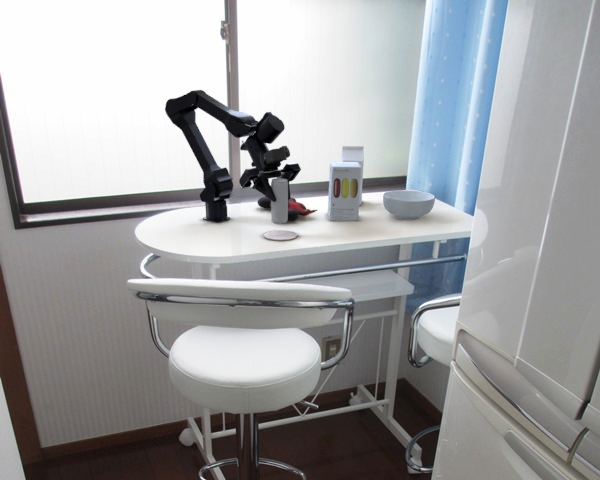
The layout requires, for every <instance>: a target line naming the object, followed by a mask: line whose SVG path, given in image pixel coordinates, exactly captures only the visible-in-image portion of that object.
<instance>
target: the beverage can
mask: <svg viewBox="0 0 600 480" xmlns="http://www.w3.org/2000/svg"><path fill="white" fill-rule="evenodd" d="M287 181H288V180H287V179H283V178H277V177H276V178H271V182H270V186H271V188H272V190H273V192H274V195H275V197H276V202H273V201H272V200H271V209H270V217H271V218H270V220H271V222H272V223H273V224H279V225H281V224H285V223H288V222H287V220H288V182H287Z"/></svg>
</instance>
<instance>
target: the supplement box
mask: <svg viewBox="0 0 600 480" xmlns="http://www.w3.org/2000/svg"><path fill="white" fill-rule="evenodd" d="M328 175H329V177H328V198H327V216H328V218H329V221H330V222H334V221H335V222H336V221H337V222H338V221H339V222H341V221H342V222H346V221H347V222H358V221H359V213H360V205H359V198H360V182H361V166H360V165H359V163H358V162H342V161H329V174H328Z"/></svg>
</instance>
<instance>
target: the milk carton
mask: <svg viewBox="0 0 600 480" xmlns="http://www.w3.org/2000/svg"><path fill="white" fill-rule="evenodd" d="M341 149H342V150H341V162H358V163H359V165H360V166H361V182H360V198H359V206H362V200H363V199H362V198H363V181H364V161H365V160H364V159H365V158H364V156H365V155H364V146H363V145H362V146H359V145H357V146H355V145H342V147H341Z"/></svg>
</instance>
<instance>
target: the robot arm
mask: <svg viewBox="0 0 600 480" xmlns="http://www.w3.org/2000/svg"><path fill="white" fill-rule="evenodd" d="M197 109H200V110H202V111H203V112H205V113H206V114H207V115H209V116H211V117H212V118H214V119H215V120H217V121H218V122H220V123H222V124H223V125H224V127H225V130H226V131H228V133H230V135H232V137H234V138H236V139H240V138H246V139H245V140H241V144H240V146H239V147H240V148H239V150H240V151H245V152H247V153H248V154H249V157H250V158H251V160H252V162H251V164H250V165H251V167H250V168H245V169H244V171H243V172H242V174H241V176H240V177H239V178H238V180H239V181H238V183H239V185H240V187H241V188H242V189H248V188H252V189H253V190H255V191H258V192H259V193H261V194H262V195H263V196H266V197H268V198H269V199H270V200H272V201H273V202H276V197H275V195H274V192H273V190H272V188H271V183H270V181H269V180H270V179H276V178H283V179H287V180H288V181H287V182H288V200H289V199H290V198H292V197H291V189H290V182H293V181H294V180H295V179H296V177H297V176H298V175H299V174H300V172H301V171H302V168H301V166H300V164H299V163H298V162H289V163H285V165H284V166H283V167H282V168H281V169H279V168H280V167H281V165H282V162H284V161H287V160H288V158H290V157H291V152H290V149H289V147H288V146H287V145H282V146H280V147H278V148H272V149H269V147H268V145H267V144H269V145H271V144H273V143H274V142H275V141H276V139H278V138H279V136H280V135H281V134H282V133H283V132H284V131H285V130H286V129H285V128H286V127H285V123H284V122H283V120H282V119H280V118H279V117H278V116H277V115H274V114H273V113H272V112H271V111H265V113H264V114H263V115H262V118H260V119H259V120H256V119H255V117H254V116H253V115H251V114H249V113H246V112H243V111H237V110H234V109H232V108H230V107H228V106H227V105H225V104H224V103H223V102H220V101H219V100H218V99H216V98H214V97H213V96H212V95H209V94H208V93H207V92H206V91H205V90H203V89H196V90H195V89H194V90H190V91H189V92H187V93H185V94H183V95H181V96H178V97H174V98H169V99H167V101H166V103H165V107H164V111H165V114H166V116H167V117H168V119H169V120H170V121H171V123H172V124H173V125H174V126H176V127H177V128H178V129H180V131H181V132H182V134H183V136H184V138H185V140H186V141H187V143H188V146H189V147H190V149H191V151H192V153H193V155H194V157H195V160H196V161H197V164H198V165H199V167H200V168H201V170H202V173H203V175H202V176H203V178H202V179H203V182H202V183H203V185H204V188H203V190H202V191H201V192H200V193H199V198H200V202H202V203H204V206H205V216H204V217H202V220H203V221H208V222H212V223H217V224H218V223H221V222H224V221H228V220H231V217H230V216H228V205H227V200H229V199H230V197H231V194H232V192H233V189H234V182H233V177H232V176H231V175H230V172H229V169H228V168H227V167H221V166H219V164H218V163H217V161H216V159H215V158H214V155H213V154H212V152H211V150H210V148H209V146H208V143H207V142H206V140H205V138H204V136H203V134H202V132H201V130H200V129H199V127H198V124H197V122H196V121H197V117H196V116H197V113H196V111H197ZM252 184H253V185H252ZM251 186H252V187H251Z"/></svg>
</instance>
